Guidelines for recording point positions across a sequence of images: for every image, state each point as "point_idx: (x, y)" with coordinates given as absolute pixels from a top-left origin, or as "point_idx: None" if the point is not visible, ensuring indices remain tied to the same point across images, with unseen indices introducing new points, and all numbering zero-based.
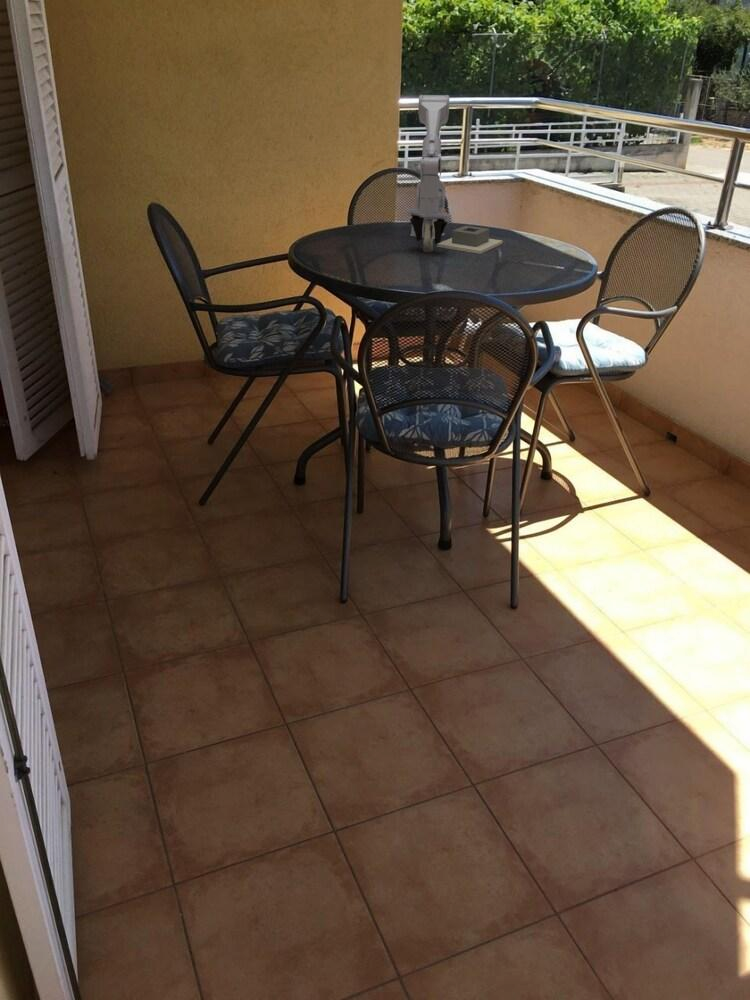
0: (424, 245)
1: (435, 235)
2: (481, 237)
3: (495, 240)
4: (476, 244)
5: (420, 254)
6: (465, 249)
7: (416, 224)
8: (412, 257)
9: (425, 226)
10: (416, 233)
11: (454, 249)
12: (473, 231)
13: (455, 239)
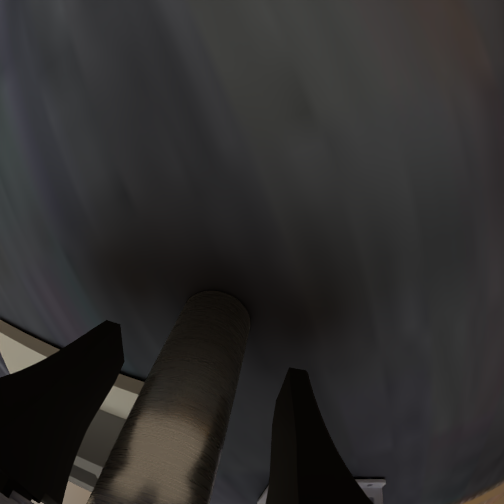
0: (223, 325)
1: (72, 359)
2: None
3: None
4: None
5: (234, 221)
6: (45, 351)
7: (297, 500)
8: (263, 99)
9: (167, 470)
10: (306, 415)
11: None
12: (88, 474)
13: (117, 434)
